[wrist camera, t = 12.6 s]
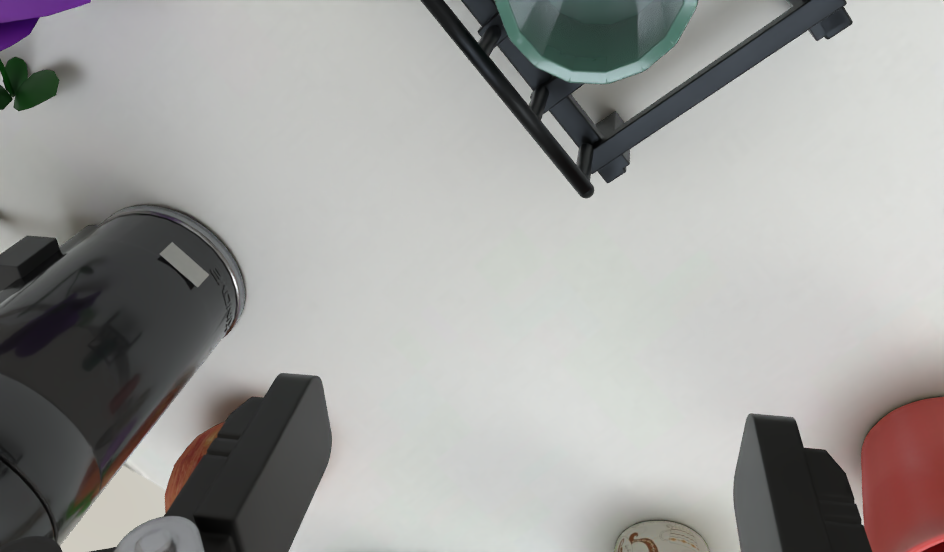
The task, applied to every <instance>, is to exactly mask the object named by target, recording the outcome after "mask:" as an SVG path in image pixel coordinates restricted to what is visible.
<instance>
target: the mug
mask: <svg viewBox="0 0 944 552" xmlns="http://www.w3.org/2000/svg"><path fill="white" fill-rule="evenodd" d="M614 552H709V549H708V546H707V544H706V542H705V541H704V540H703V538H702V537H701V536H700V535H699V534H697V533H696V532H695V531H693V530H692V529H690V528H688V527H686V526H684V525H681V524H678V523H674V522H669V521H647V522H642V523H639V524H636V525H633V526H631V527H630V528H628V529H627V530H625V531H624V532H623V533H622V534H621V535H620V537H619V538H618V540H617V542H616V546H615V550H614Z"/></svg>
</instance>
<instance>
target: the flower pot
mask: <svg viewBox="0 0 944 552" xmlns="http://www.w3.org/2000/svg"><path fill="white" fill-rule="evenodd" d="M861 466H862V497H863V516H864V529H865V532H866V535H867V538H868V541H869V544H870V546H871V549H872V552H944V397H936V398H928V399H923V400H919V401H915V402H912V403H909V404H906V405H904V406H902V407H899V408H897V409H895V410H893V411H892V412H890V413H889V414H887V415H886V416H884V417H883V418H882V419H881V420H880V421H879V422H878V423H877V424H876V425H875V426H874V427H873V428H872V429H871V430H870V431H869V433H868V434H867V436H866V438H865V440H864V443H863V446H862V451H861Z"/></svg>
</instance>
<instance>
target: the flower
mask: <svg viewBox="0 0 944 552" xmlns="http://www.w3.org/2000/svg"><path fill="white" fill-rule="evenodd" d="M90 2H91V0H0V51H2V50H4V49H6V48H8V47H10V46H12V45H14V44H15V43H17V42H18V41H20V40H21V39H23V38H25V37H26V36H28V35H29V34H30V33H31V31H32V30H33V28H34V26H35V24H36V23H37V21H38V19H39V18H40V17H43V16H49V15H52V14H55V13H59V12H62V11H65V10H68V9H71V8H74V7H78V6H81V5H84V4H87V3H90ZM0 72H1V74H2V77H3V82H4V85H5V88H6V90H5V89H4V88H3V87H2V86H1V85H0V110H3V109H4V108H5V107H6V106H7V105H8V104H9V103H10V102H11V101H12V100H13V99H12V97H14V96H15V100H14V108H15V109H16V110H18V111H21V110H25V109H29V108H32V107H34V106H36V105H38V104H40V103H42V102H44V101H46V100H48V99H50V98H52V97H53V96H55V95H56V93H57V88H58V84H59V79H58V77H57V76H56V74H55V72H54V71H51V70H42V71H39V72H36V73H33V74H32V75H31V76H30V77H29V78H28V71H27V65H26V63H25V62H24V60H22V59H19V58H17V57H14V58H12V59H10V60H9V61H8V62H7V64H6V67H4V64H3V63H2V61H1V60H0ZM27 78H28V79H27ZM7 91H8V92H9V93H8V92H7Z"/></svg>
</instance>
